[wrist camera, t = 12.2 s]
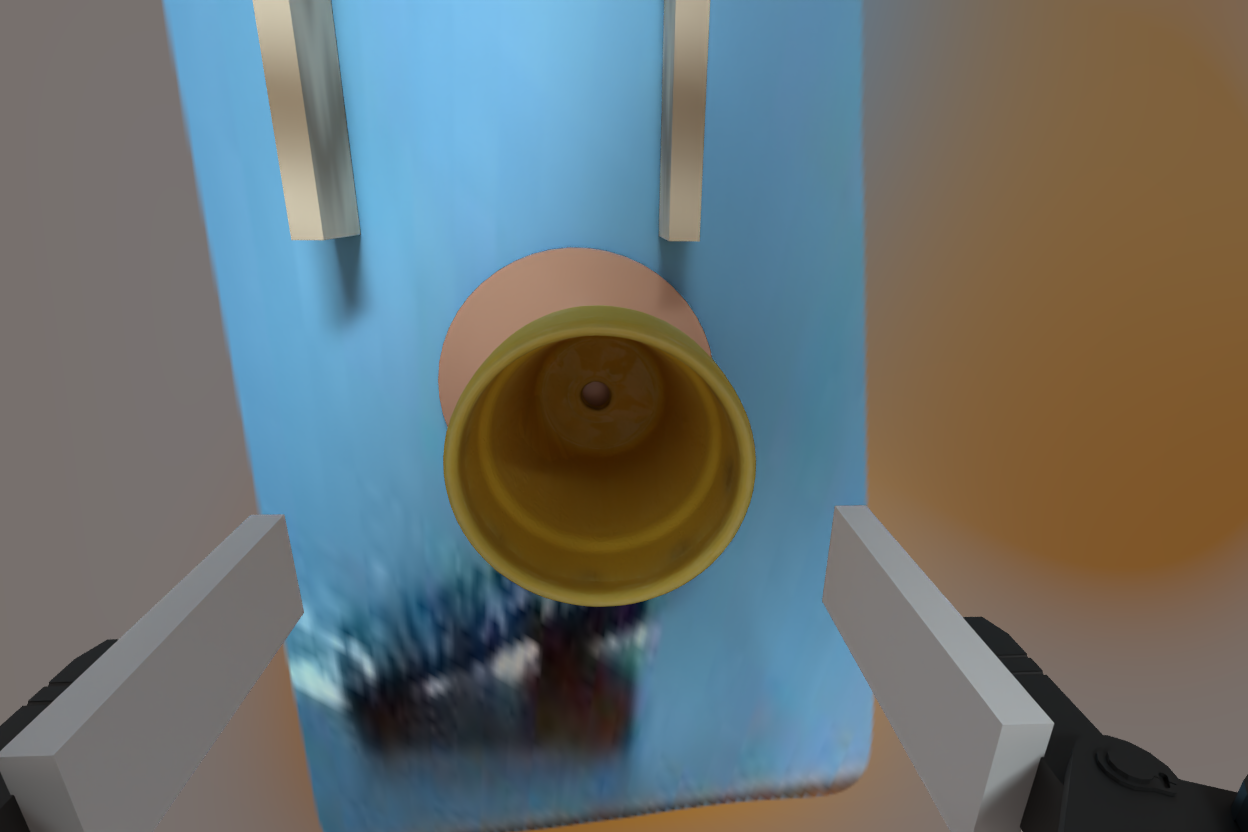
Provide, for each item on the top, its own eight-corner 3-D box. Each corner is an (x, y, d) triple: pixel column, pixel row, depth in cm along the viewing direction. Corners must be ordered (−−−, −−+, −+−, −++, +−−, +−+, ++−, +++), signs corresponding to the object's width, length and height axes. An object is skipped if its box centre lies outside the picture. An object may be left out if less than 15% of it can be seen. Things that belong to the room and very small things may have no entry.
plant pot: (486, 483, 31) (442, 605, 22) (489, 270, 27) (438, 307, 18) (692, 494, 32) (735, 617, 22) (720, 289, 28) (783, 333, 19)
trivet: (486, 203, 27) (483, 203, 27) (754, 304, 29) (758, 307, 29) (412, 461, 31) (407, 468, 30) (654, 535, 33) (655, 543, 32)
